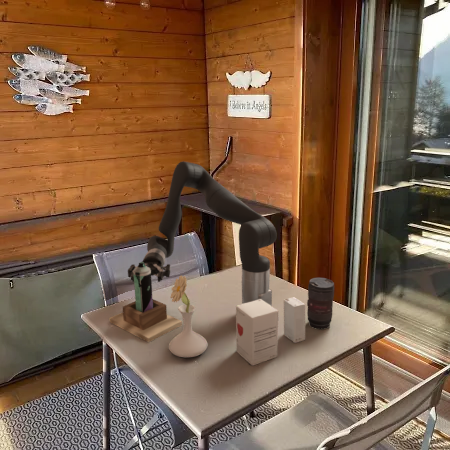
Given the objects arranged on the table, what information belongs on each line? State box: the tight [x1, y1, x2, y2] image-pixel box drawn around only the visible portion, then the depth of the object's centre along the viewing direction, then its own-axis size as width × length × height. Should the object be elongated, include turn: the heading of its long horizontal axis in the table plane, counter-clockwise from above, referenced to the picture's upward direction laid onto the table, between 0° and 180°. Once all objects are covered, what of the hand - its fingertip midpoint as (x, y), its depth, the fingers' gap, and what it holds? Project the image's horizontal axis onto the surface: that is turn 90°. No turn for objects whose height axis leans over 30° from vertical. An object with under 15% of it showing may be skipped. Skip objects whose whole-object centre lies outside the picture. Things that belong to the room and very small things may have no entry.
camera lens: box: [306, 277, 335, 330], centre depth 150 cm, size 8×8×15 cm
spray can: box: [133, 261, 154, 313], centre depth 152 cm, size 6×6×20 cm
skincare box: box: [283, 296, 306, 344], centre depth 144 cm, size 6×4×12 cm
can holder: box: [109, 298, 183, 343], centre depth 154 cm, size 20×14×6 cm
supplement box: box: [235, 299, 279, 366], centre depth 134 cm, size 9×9×15 cm
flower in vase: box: [168, 275, 208, 358], centre depth 134 cm, size 13×11×25 cm
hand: (145, 279), depth 156 cm, fingers open, 8 cm apart
